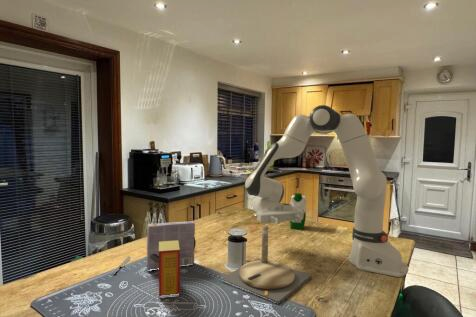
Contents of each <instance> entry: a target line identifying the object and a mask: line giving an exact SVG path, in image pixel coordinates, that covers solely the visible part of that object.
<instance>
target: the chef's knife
mask: <svg viewBox="0 0 476 317" xmlns="http://www.w3.org/2000/svg"><path fill="white" fill-rule="evenodd" d="M130 259H131V256H130V255H128V256H127V257H126V258H124V260H123V261H122V262H121V263H120V265H119V266H118V267H117V268H120V267H121V266H123V265H125V264H127V263H128V262H129V261H130ZM130 262H131V261H130Z"/></svg>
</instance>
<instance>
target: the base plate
mask: <svg viewBox="0 0 476 317" xmlns="http://www.w3.org/2000/svg"><path fill="white" fill-rule="evenodd" d="M259 260H262V258H259V257H258V258H256V259H254V260H253V261H259ZM240 268H241V267H240ZM240 268H238V269H236V270H234V271H232V272H229V273H228V274H227V275H224V276H223V277H221V278H220V280H221V279H222V280H224V281H227V282H229V283H231V284H234V285H237V286H239V287H242V288H244V289H247V290H249V291H251V292H253V293H256V294H258V295H260V296H263V297H265V298H267V299H270V300H272V301H274V302H276V303H279V302H281V301H282V300H283V299H285V298H286V299H288V297H290V296H291V295H292V294H293V293H295V291H297V290H298V289H299V288H301V286H303V285H304V284H306V282H308V281H309V280H310V279H311V278H312V274H309V273H306V272H303V271H300V270H297V269H295V268H292V269H293V271H294V273H295V277H294V281H293V283H292V284H290V285H288V286H286V287H283V288H278V289H262V288H257V287H253V286H250V285H248V284H246V283H245V282H243V281H242V280H241V278H240ZM286 299H285V300H286ZM283 301H284V300H283ZM283 301H282V302H283ZM282 302H281V303H282Z"/></svg>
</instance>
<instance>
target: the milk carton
mask: <svg viewBox="0 0 476 317" xmlns="http://www.w3.org/2000/svg"><path fill="white" fill-rule="evenodd" d="M289 204H291V205H292V206H293V207H296V208H298V209H300V210H302V211H303V213H304V217H303V220H301V222H297V221H296V220H295V221H289V224H290V229H292V230H302V231H304V228H305V224H306V215H307V198H306V195H303V193H300V192H295V193H294V195H293V194H292V195H291V197H290V202H289Z"/></svg>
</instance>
